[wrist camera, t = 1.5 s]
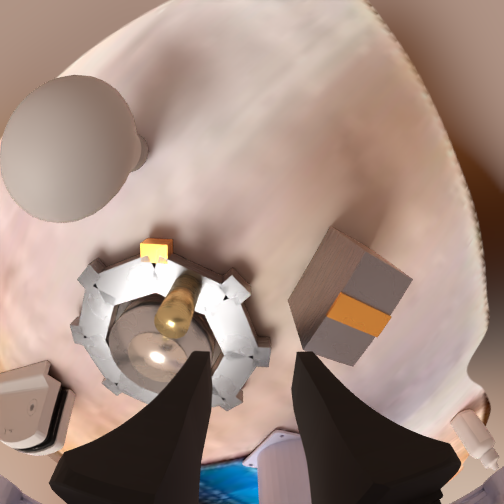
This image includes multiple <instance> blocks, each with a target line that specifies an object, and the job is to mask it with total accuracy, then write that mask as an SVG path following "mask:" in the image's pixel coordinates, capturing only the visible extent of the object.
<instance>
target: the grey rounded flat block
mask: <svg viewBox="0 0 504 504" xmlns="http://www.w3.org/2000/svg"><path fill="white" fill-rule="evenodd" d="M49 367H50V363H49V362H48V361H43V362H40V363H36V364H33V365H29V366H26V367H22V368H18V369H15V370H11V371H7V372H3V373H0V440H1V441H2V442H3V443H4V444H6V445H8V446H10V447H12V448H13V449H15V450H17V451H19V452H22V453H26V454H29V455H34V456H40V455H47V454H51V453H54V452H56V451H58V450H60V449H62V448H63V446H64V443H65V438H66V433H67V429H68V425H69V420H70V416H71V412H72V408H73V405H74V401H75V397H76V395H75V394H74V392H73V391H71V390H70V389H69V390H61V389H62V387H60V385H61V383H60V382H59V381H57V380H55V379H54V378H52V377H51V376H49V375H48V371H49Z"/></svg>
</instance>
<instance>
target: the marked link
mask: <svg viewBox="0 0 504 504" xmlns="http://www.w3.org/2000/svg"><path fill="white" fill-rule="evenodd" d="M412 280H413V279H412V278H410V277H409V276H408V275H406V274H405V273H404V272H402V271H401V270H400V269H398V268H397V267H395V266H394V265H393V264H391V263H390V262H389V261H387V260H386V259H384V258H383V257H382V256H380V255H379V254H377V253H376V252H375V251H373V250H372V249H370V248H369V247H367V246H365V245H363V244H362V243H360V242H358V241H357V240H355V239H353V238H351V237H350V236H348V235H346V234H344V233H342V232H341V231H339V230H337V229H335V228H334V227H332V226H330V227H329V229H328V231H327V233H326V235H325V237H324V238H323V240H322V242H321V244H320V246H319V247H318V249H317V251H316V253H315V255H314V256H313V258H312V260H311V262H310V263H309V265H308V267H307V269H306V270H305V272H304V274H303V276H302V277H301V279H300V281H299V282H298V284H297V286H296V288H295V289H294V291H293V293H292V294H291V296H290V298H289V299H288V303H289V306H290V309H291V312H292V315H293V319H294V322H295V325H296V328H297V332H298V335H299V338H300V341H301V345H302V348H303V350H305V351H313V352H314V353H315V354H316V355H319V356H322V357H325V358H328V359H331V360H334V361H337V362H340V363H343V364H346V365H349V366H352V367H353V366H354V364H355V363H356V362H357V361H358V359H359V358H360V357H361V355H362V354H363V353H364V352H365V350H366V349H367V348H368V346H369V345H370V343H371V342H372V341H373V339H374V338H375V337H378V336H379V334H380V333H381V332H382V330H383V329H384V327H385V326H386V324H387V323H388V322H389V320H390V319H391V316H390V315H391V313H392V312H393V310H394V309H395V307H396V306H397V304H398V303H399V301H400V299H401V298H402V296H403V295H404V293H405V291H406V290H407V288H408V287H409V285H410V283H411V281H412Z"/></svg>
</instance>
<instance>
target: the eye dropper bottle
mask: <svg viewBox="0 0 504 504" xmlns="http://www.w3.org/2000/svg"><path fill="white" fill-rule="evenodd" d="M450 424H451V426H452V428H453V429H454V431H455V432H456V434H457V435H458V437H459V439H460V440H461V442H462V443H463V445H464V446H465V448H466V450H467V451H468V453H469V454H470V455H471V456H472V457H473V458H476V459H477V458H478V459H480V460H481V462H482V464H483V465H484V467H485V468H486V469H487V468H492V469H493V470H494V471H495V470H497V469H498V468H499V467H498V464H497V460H498V459H499V455H498V454H497V452H496V451H495V449H494V448H493V446H494V444H495V440H494V438H493V437H492V435H491V434H490V432H489V431H488V430H487V428H486V427H485V425H484V424H483V423H482V421H481V420H480V419H479V417H478V416H477V415H476V413H475V412H474V411H473V410H471V409H468V410H464V411H462V412H460V413H458V414H457V415H456V416H455V418H454V419H453V420H452V421H451V422H450Z"/></svg>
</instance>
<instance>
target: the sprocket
mask: <svg viewBox="0 0 504 504" xmlns="http://www.w3.org/2000/svg"><path fill="white" fill-rule="evenodd" d="M140 251H141V254H139V255H136V256H134V257H131V258H128V259H126V260H123V261H121V262H118V263H115V264H113V265H110V266H108V267H106V266H105V265H104V264H103V263H102V262H101V261H100V260H99V258H97V259H96V260H95V261H93V262H92V263H90V264H89V265H88V266H87V268H86V269H85V270H84V271H83V273H82V274H81V275H80V277H79V278H78V279H77V280H78V281H79V282H80V283H81V285H82V286H83V287H84V288H85V293H84V298H83V304H82V309H81V315H80V317H77V318H76V319H75V320H74V321H73V322H72V323H71V324H70V328H71V332H72V335H73V339H74V343H76V344H80V345H84V347H85V349H86V350H87V352H88V353H89V355H90V356H91V358H92V360H93V361H94V363H95V364H96V366H97V367H98V368H99V370H100V371H101V373H102V374H103V376H104V377H105V378H104V379H103V381H102V384H103V385H104V386H106V387H107V388H108V389H109V390H110V391H112V392H113V393H114V394H115V395H119V394H120V393H124V394H126V395H129V396H131V397H133V398H135V399H137V400H140V401H142V402H144V403H146V404H149V403H150V402H151V401H152V400H153V399H154V398H155V397H156V396H157V395H158V393H155V392H151V391H149V390H146V389H144V388H142V387H140V386H138V385H137V384H135V383H134V382H132V381H131V380H130V379H128V378H127V377H126V376H125V375H124V374H123V373H122V372H121V371H120V369H119V368H118V367H117V365H116V363H115V362H114V360H113V358H112V355H111V352H110V348H109V336H110V332H111V329H112V327H113V325H114V321H115V317H116V314H117V310H118V306H119V304H120V303H124V302H127V301H130V300H133V299H136V298H140V297H143V296H146V295H149V294H152V293H158V294H160V295H162V296H164V297H165V299H164V301H163V302H162V304H161V306H160V308H159V309H158V311H157V313H156V315H155V317H154V324H155V327H156V329H157V330H158V331H159V332H160V333H161V334H162V335H163V336H165V337H168V338H172V339H177V338H181V337H183V336H184V335H185V334H186V333H187V331H188V329H189V326H190V323H191V320H192V316H193V313H194V310H195V311H197V312H199V313H202V314H204V315H205V316H206V318H207V321H208V323H209V325H210V327H211V329H212V331H213V333H214V335H215V338H216V340H217V342H218V344H219V346H220V348H221V350H222V352H221V354H220V355H219V357H218V359H217V361H216V362H215V364H214V366H213V367H212V369H211V374H212V387H213V392H212V405H211V407H216V406H220V407H222V408H223V409H225V410H226V411H228V410H230V409H232V408H234V407H236V406H237V405H239V404H241V403H243V391H242V390H241V388H242V387H243V385H244V384H245V382H246V381H247V380H248V378H249V377H250V375H251V374H252V372H253V371H254V369H255V368H256V367H269V361H270V353H271V343H270V337H257V334H256V332H255V329H254V327H253V324H252V322H251V319H250V317H249V314H248V312H247V309H246V307H245V304H244V302H243V301H245V300H246V299H247V298H248V297H250V296H251V286H250V285H249V284H248V283H247V282H246V281H245V280H244V279H243V278H242V277H241V276H240V275H239V273H238V272H237V271H236V270H235V269H234V268H232V269H231V270H229V271H228V272H227V273H226V274H225V275H223V276H222V275H220V274H217V273H215V272H213V271H211V270H209V269H206V268H204V267H202V266H200V265H198V264H196V263H194V262H191V261H189V260H187V259H185V258H183V257H181V256H179V255H177V254H174V253H173V239H155V238H147V239H145V240H144V241H143V242H142V243H140Z"/></svg>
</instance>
